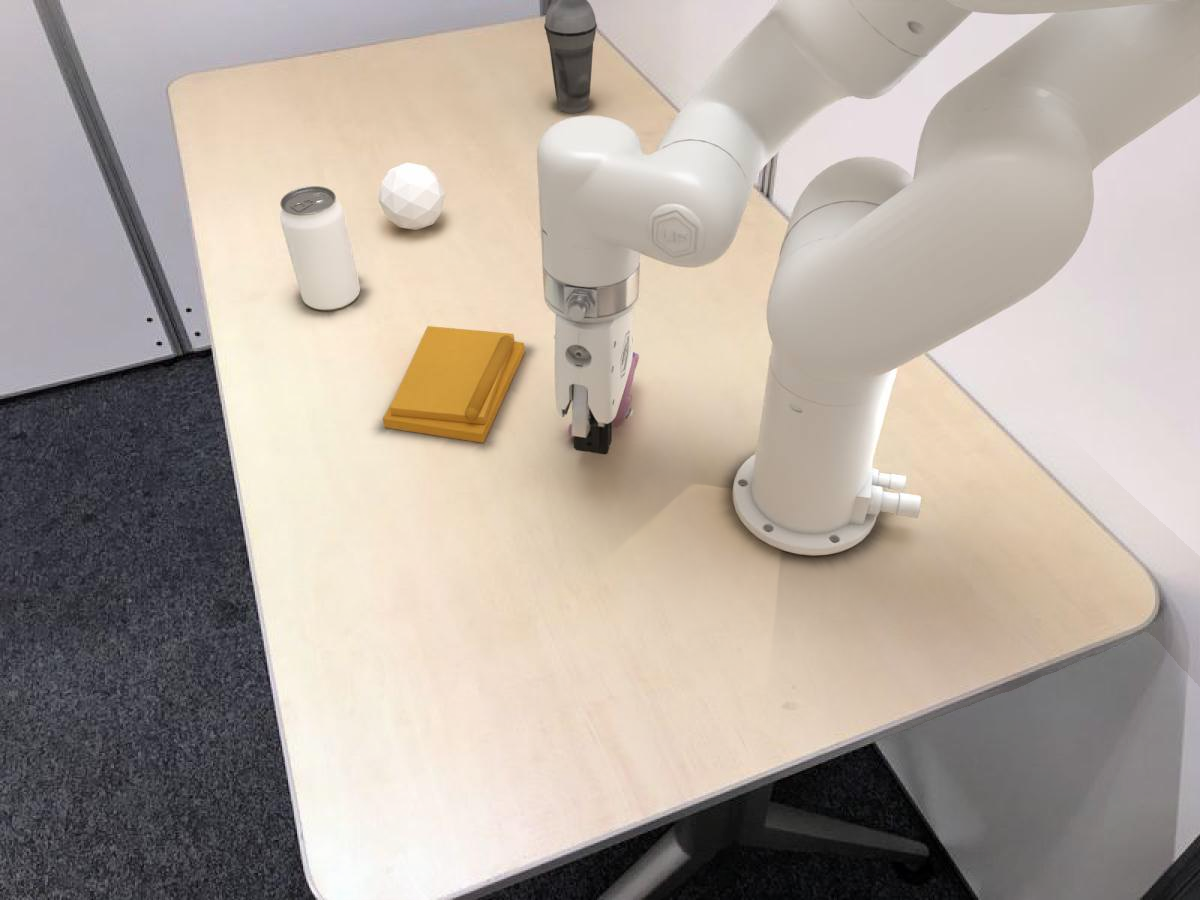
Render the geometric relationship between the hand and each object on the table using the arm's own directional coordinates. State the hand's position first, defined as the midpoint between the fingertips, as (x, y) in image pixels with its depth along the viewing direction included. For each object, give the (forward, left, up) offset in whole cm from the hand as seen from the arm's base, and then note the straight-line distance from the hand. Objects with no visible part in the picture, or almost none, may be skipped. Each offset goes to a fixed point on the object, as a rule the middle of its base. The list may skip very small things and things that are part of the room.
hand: (592, 446), depth 88 cm
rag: (+16, -7, -2) cm, 17 cm away
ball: (+31, -35, -2) cm, 46 cm away
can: (+35, -19, -2) cm, 39 cm away
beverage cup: (+20, -70, -2) cm, 72 cm away
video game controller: (0, -7, -2) cm, 7 cm away
